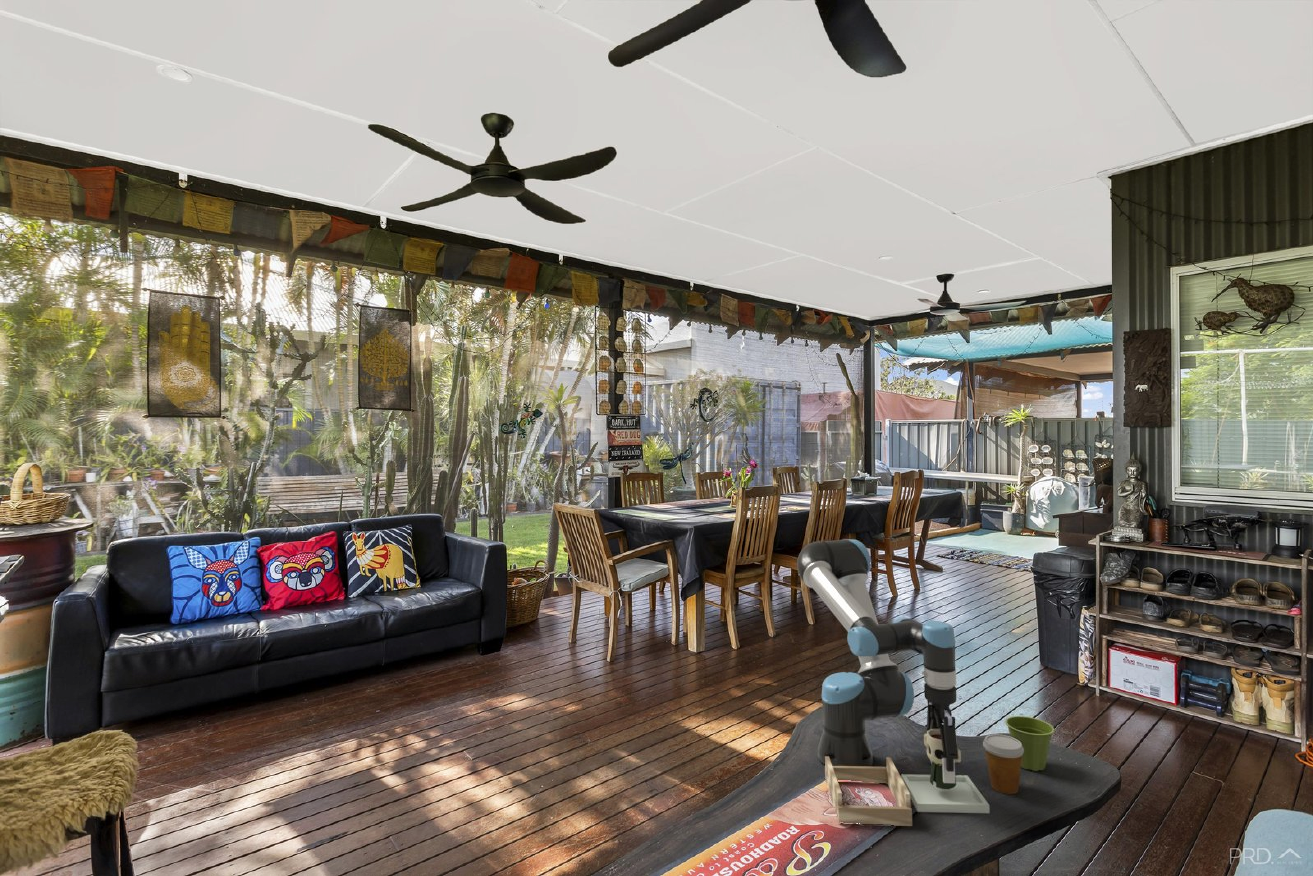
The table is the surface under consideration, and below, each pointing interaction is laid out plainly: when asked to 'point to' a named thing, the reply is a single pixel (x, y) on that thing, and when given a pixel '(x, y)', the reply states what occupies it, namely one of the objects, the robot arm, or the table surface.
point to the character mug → (937, 758)
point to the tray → (945, 795)
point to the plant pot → (1031, 739)
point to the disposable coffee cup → (1003, 762)
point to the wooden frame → (870, 814)
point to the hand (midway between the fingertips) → (942, 772)
